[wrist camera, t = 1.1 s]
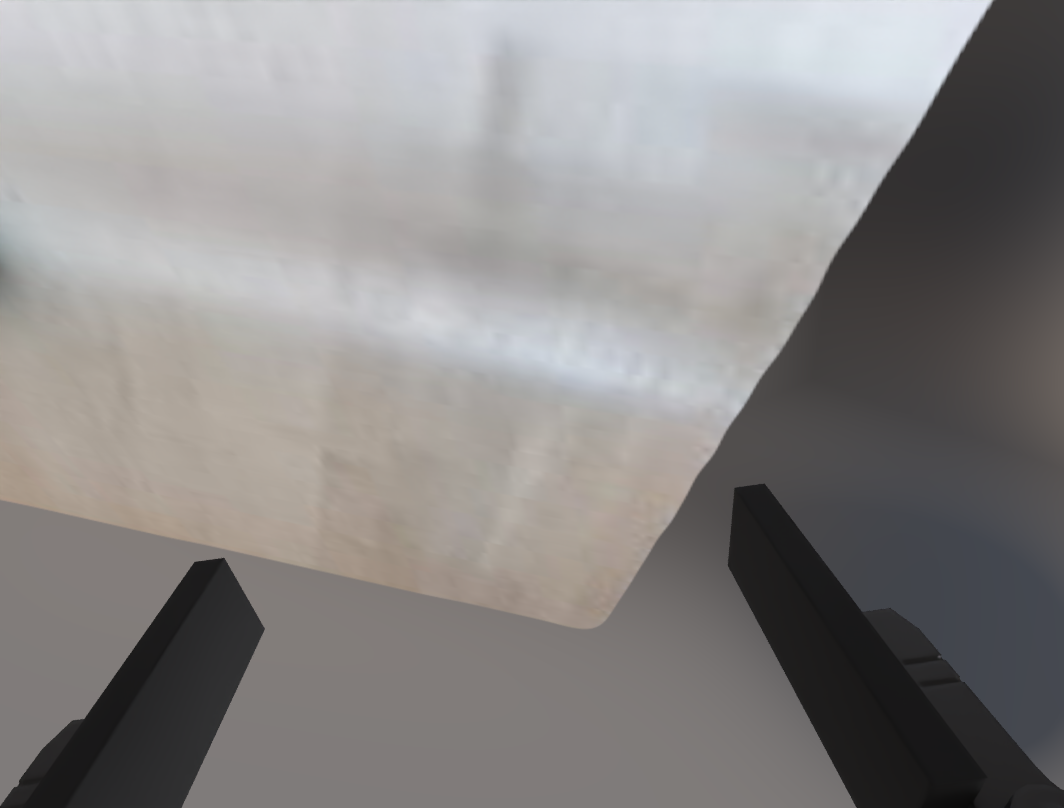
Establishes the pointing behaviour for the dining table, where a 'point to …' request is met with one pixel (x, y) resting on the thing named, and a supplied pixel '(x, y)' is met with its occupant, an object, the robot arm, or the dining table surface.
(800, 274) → the dining table surface
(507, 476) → the dining table surface
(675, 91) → the dining table surface
